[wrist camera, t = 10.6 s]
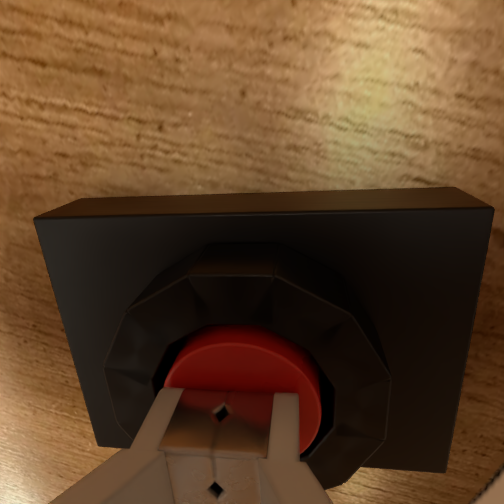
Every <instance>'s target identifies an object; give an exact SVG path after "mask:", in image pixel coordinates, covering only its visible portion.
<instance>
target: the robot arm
mask: <svg viewBox="0 0 504 504" xmlns="http://www.w3.org/2000/svg"><path fill="white" fill-rule="evenodd" d="M48 504H333V503H332V501H331V500H330V498H329V497H328V495H327V494H326V492H325V491H324V489H323V488H322V486H321V485H320V483H319V482H318V480H317V479H316V477H315V476H314V474H313V473H312V471H311V470H310V468H309V466H308V465H307V463H306V462H300V436H299V394H298V393H278V392H275V393H269V392H244V391H222V390H208V389H195V388H174V387H164V388H162V389H161V390H160V391H159V393H158V395H157V397H156V399H155V400H154V402H153V404H152V406H151V408H150V410H149V412H148V414H147V416H146V418H145V420H144V422H143V424H142V426H141V428H140V430H139V431H138V433H137V435H136V437H135V439H134V441H133V443H132V445H131V447H130V449H121V450H120V451H118V452H117V453H116V454H114V455H113V456H112V457H110V458H109V459H108V460H106V461H105V462H104V463H102V464H101V465H100V466H98V467H97V468H96V469H94V470H93V471H92V472H90V473H89V474H87V475H86V476H85V477H83V478H82V479H81V480H79V481H78V482H77V483H75V484H74V485H73V486H71V487H70V488H69V489H67V490H66V491H65V492H63V493H62V494H61V495H59V496H58V497H56V498H55V499H54V500H52V501H51V502H50V503H48Z"/></svg>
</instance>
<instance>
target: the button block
mask: <svg viewBox="0 0 504 504" xmlns="http://www.w3.org/2000/svg"><path fill="white" fill-rule="evenodd" d="M494 211H495V209H494V207H493V206H491V205H489V204H487V203H485V202H483V201H481V200H479V199H477V198H476V197H474V196H472V195H470V194H468V193H466V192H464V191H462V190H460V189H458V188H456V187H443V188H410V189H377V190H344V191H311V192H279V193H246V194H213V195H180V196H147V197H114V198H81V199H78V200H76V201H73V202H71V203H68V204H66V205H63V206H61V207H58V208H56V209H53V210H51V211H48V212H46V213H43V214H41V215H38V216H36V217H34V218H33V221H34V225H35V228H36V232H37V235H38V239H39V242H40V246H41V249H42V253H43V256H44V260H45V263H46V267H47V270H48V274H49V277H50V281H51V284H52V288H53V291H54V295H55V298H56V302H57V305H58V309H59V312H60V316H61V319H62V323H63V326H64V330H65V333H66V337H67V340H68V344H69V347H70V351H71V354H72V358H73V361H74V365H75V368H76V372H77V375H78V379H79V382H80V386H81V389H82V393H83V396H84V400H85V403H86V407H87V410H88V414H89V417H90V421H91V424H92V428H93V431H94V435H95V438H96V442H97V445H98V446H99V447H111V448H124V449H130V447H131V445H132V443H133V441H134V439H135V437H136V435H137V433H138V431H139V430H140V428H141V426H142V424H143V422H144V420H145V418H146V416H147V414H148V412H149V410H150V408H151V406H152V404H153V402H154V400H155V399H156V397H157V395H158V393H159V391H160V390H161V389H162V388H163V387H164V383H165V379H166V377H167V375H168V372H169V371H170V369H171V367H172V365H173V363H174V361H175V359H176V357H177V355H178V353H179V351H180V349H181V347H182V345H183V343H184V342H185V340H186V338H187V336H188V335H189V334H191V333H193V332H195V331H197V330H199V329H201V328H203V327H205V326H207V325H208V324H214V325H257V326H262V327H264V328H266V329H268V330H270V331H272V332H274V333H276V334H278V335H280V336H282V337H284V338H286V339H288V340H289V341H291V342H293V343H295V344H297V345H299V346H301V347H303V348H305V349H307V350H308V351H309V352H310V354H311V355H312V356H313V358H314V359H315V361H316V362H317V364H318V365H319V371H320V390H321V408H322V417H321V424H320V427H319V430H318V433H317V435H316V437H315V439H314V440H313V442H312V443H311V444H310V446H309V447H308V448H307V449H306V450H305V451H304V452H303V453H301V454H300V462H306V463H307V465H308V466H309V468H310V470H311V471H312V473H313V474H314V476H315V477H316V479H317V480H318V482H319V483H320V485H321V486H322V488H323V489H324V490H327V489H330V488H333V487H337V486H340V485H342V484H343V483H346V482H347V481H348V480H349V479H350V478H351V477H352V475H353V474H354V473H355V472H356V471H357V470H358V469H359V468H360V467H367V468H380V469H393V470H406V471H418V472H431V473H446V470H447V465H448V460H449V454H450V449H451V443H452V438H453V433H454V427H455V422H456V416H457V411H458V405H459V400H460V395H461V389H462V384H463V378H464V373H465V368H466V362H467V357H468V351H469V346H470V341H471V335H472V330H473V324H474V319H475V314H476V308H477V303H478V297H479V292H480V287H481V281H482V276H483V270H484V265H485V260H486V254H487V249H488V243H489V238H490V233H491V227H492V222H493V216H494Z"/></svg>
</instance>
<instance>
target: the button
mask: <svg viewBox="0 0 504 504" xmlns="http://www.w3.org/2000/svg"><path fill="white" fill-rule="evenodd" d="M164 387H174V388H195V389H208V390H222V391H244V392H269V393H275V392H278V393H298V394H299V436H300V454H301V453H303V452H304V451H305V450H306V449H307V448H308V447H309V446H310V444H311V443H312V442H313V440H314V439H315V437H316V435H317V433H318V430H319V427H320V424H321V417H322V408H321V390H320V371H319V365H318V364H317V362H316V361H315V359H314V358H313V356H312V355H311V354H310V352H309V351H308V350H307V349H305V348H303V347H301V346H299V345H297V344H295V343H293V342H291V341H289V340H288V339H286V338H284V337H282V336H280V335H278V334H276V333H274V332H272V331H270V330H268V329H266V328H264V327H262V326H257V325H214V324H208V325H207V326H205V327H203V328H201V329H199V330H197V331H195V332H193V333H191V334H189V335H188V336H187V338H186V340H185V342H184V343H183V345H182V347H181V349H180V351H179V353H178V355H177V357H176V359H175V361H174V363H173V365H172V367H171V369H170V371H169V372H168V375H167V377H166V379H165V383H164ZM164 387H163V388H164Z"/></svg>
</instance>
